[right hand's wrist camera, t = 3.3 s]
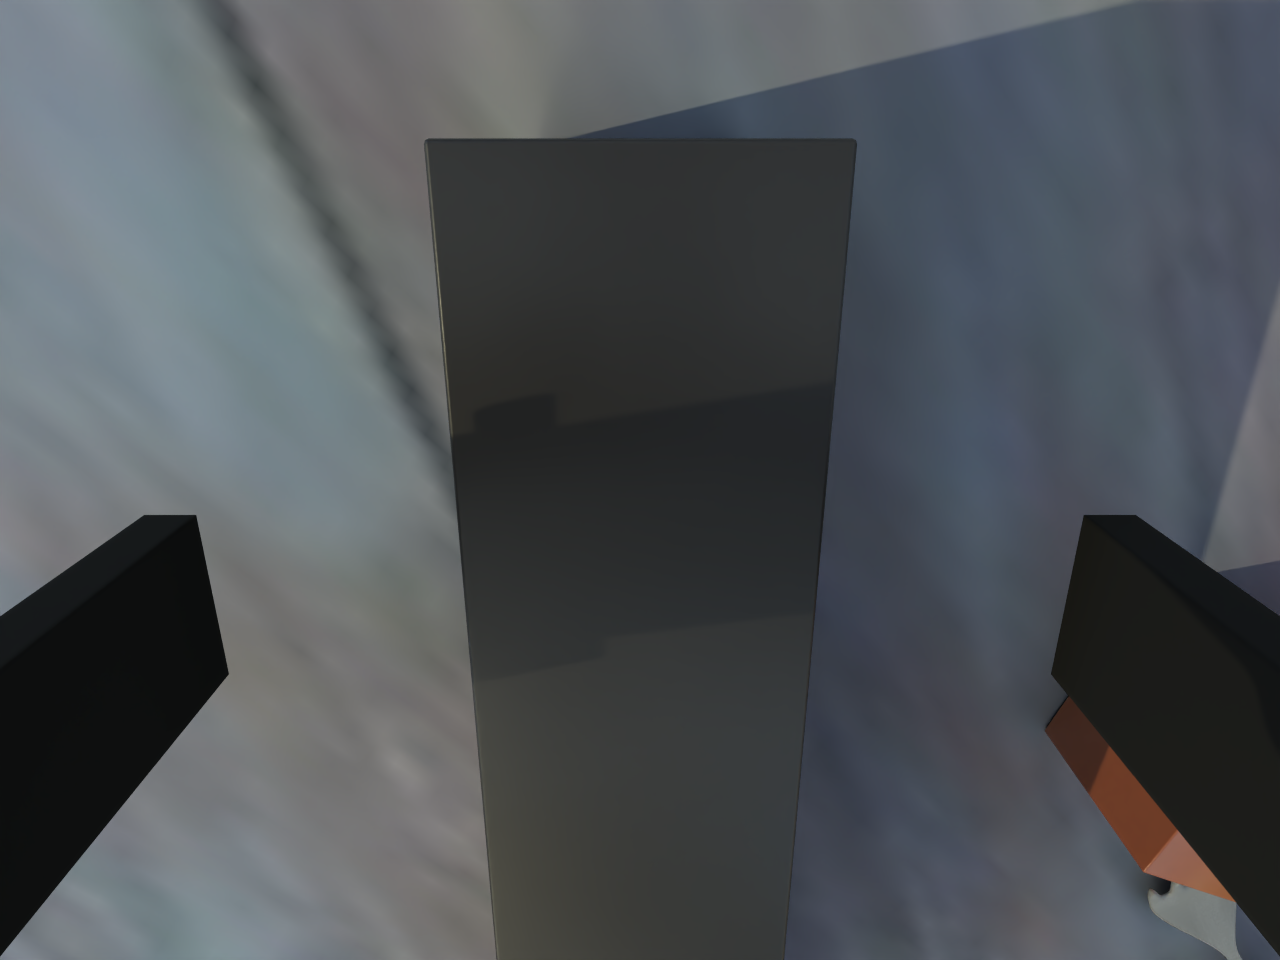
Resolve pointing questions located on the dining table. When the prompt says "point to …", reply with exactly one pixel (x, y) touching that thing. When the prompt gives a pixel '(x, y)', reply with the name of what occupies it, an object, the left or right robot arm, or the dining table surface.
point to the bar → (640, 521)
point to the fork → (1198, 916)
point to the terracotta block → (1128, 804)
